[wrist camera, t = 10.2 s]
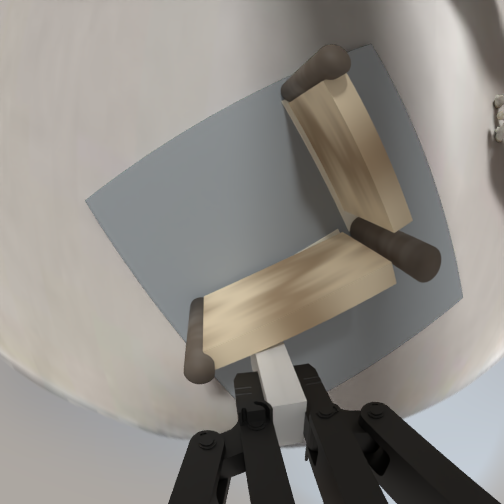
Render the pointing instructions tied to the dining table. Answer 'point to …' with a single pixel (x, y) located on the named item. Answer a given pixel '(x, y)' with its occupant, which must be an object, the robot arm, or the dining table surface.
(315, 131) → the fence fixed
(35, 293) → the dining table surface
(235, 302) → the fence hinged
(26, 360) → the dining table surface
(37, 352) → the dining table surface
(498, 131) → the bull figurine
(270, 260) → the card
